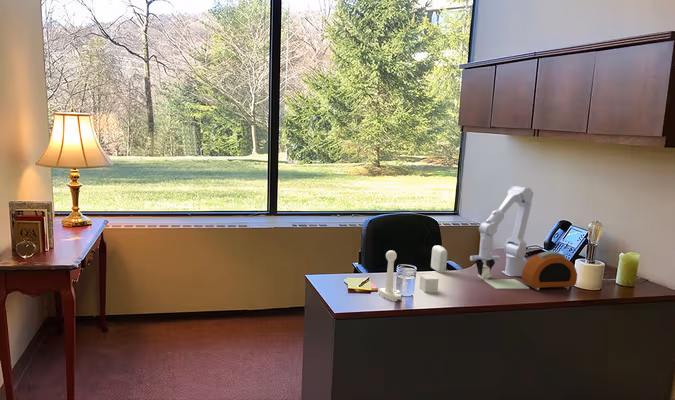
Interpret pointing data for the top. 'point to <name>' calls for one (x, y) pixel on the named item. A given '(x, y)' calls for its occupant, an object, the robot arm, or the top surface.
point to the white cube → (428, 283)
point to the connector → (485, 272)
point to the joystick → (390, 279)
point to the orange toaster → (549, 271)
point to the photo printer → (439, 259)
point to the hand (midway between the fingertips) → (483, 274)
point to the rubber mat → (505, 284)
